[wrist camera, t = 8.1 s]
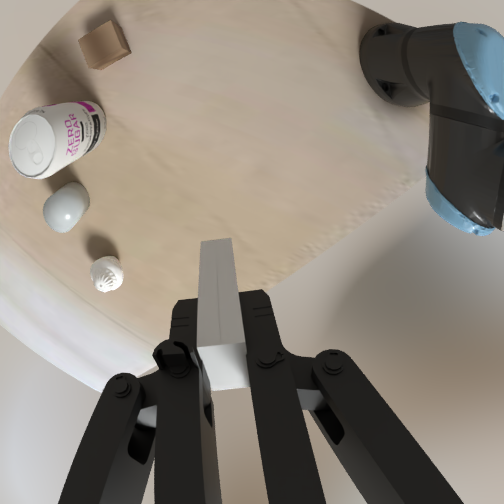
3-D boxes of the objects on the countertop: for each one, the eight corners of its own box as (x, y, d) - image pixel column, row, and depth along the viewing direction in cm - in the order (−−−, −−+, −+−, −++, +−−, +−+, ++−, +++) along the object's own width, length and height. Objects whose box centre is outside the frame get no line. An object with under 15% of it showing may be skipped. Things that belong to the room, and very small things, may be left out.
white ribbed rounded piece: (118, 243, 44) (106, 267, 38) (133, 272, 47) (125, 297, 41) (90, 254, 44) (77, 277, 38) (106, 280, 47) (96, 305, 41)
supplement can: (54, 122, 31) (-5, 142, 19) (93, 89, 30) (39, 92, 18) (77, 162, 36) (26, 197, 23) (117, 132, 35) (73, 153, 22)
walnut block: (121, 27, 26) (110, 20, 22) (131, 53, 29) (121, 47, 25) (91, 44, 26) (78, 40, 22) (101, 70, 29) (88, 67, 25)
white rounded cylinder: (84, 178, 37) (68, 190, 32) (94, 212, 40) (80, 228, 35) (55, 186, 37) (38, 200, 32) (65, 219, 40) (50, 235, 35)
